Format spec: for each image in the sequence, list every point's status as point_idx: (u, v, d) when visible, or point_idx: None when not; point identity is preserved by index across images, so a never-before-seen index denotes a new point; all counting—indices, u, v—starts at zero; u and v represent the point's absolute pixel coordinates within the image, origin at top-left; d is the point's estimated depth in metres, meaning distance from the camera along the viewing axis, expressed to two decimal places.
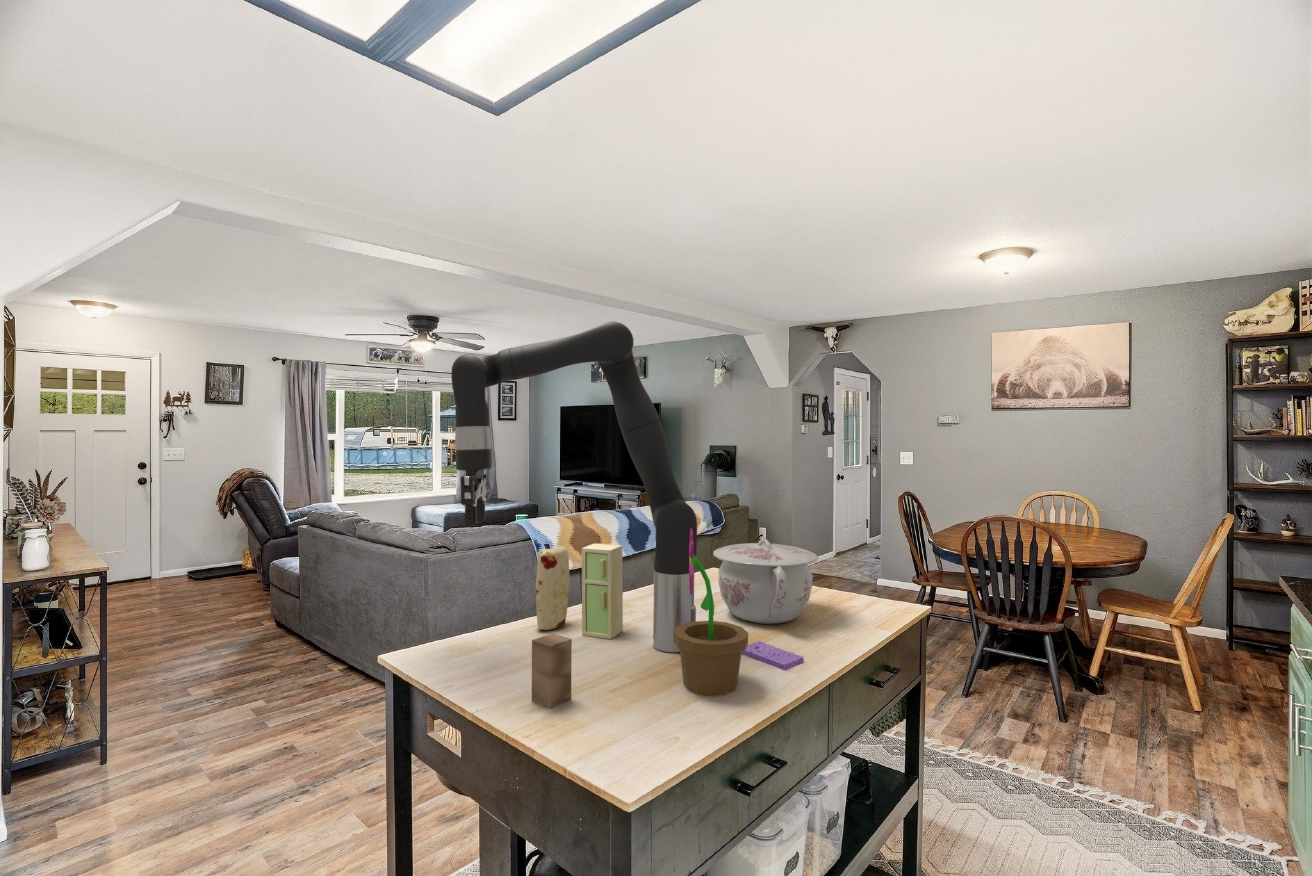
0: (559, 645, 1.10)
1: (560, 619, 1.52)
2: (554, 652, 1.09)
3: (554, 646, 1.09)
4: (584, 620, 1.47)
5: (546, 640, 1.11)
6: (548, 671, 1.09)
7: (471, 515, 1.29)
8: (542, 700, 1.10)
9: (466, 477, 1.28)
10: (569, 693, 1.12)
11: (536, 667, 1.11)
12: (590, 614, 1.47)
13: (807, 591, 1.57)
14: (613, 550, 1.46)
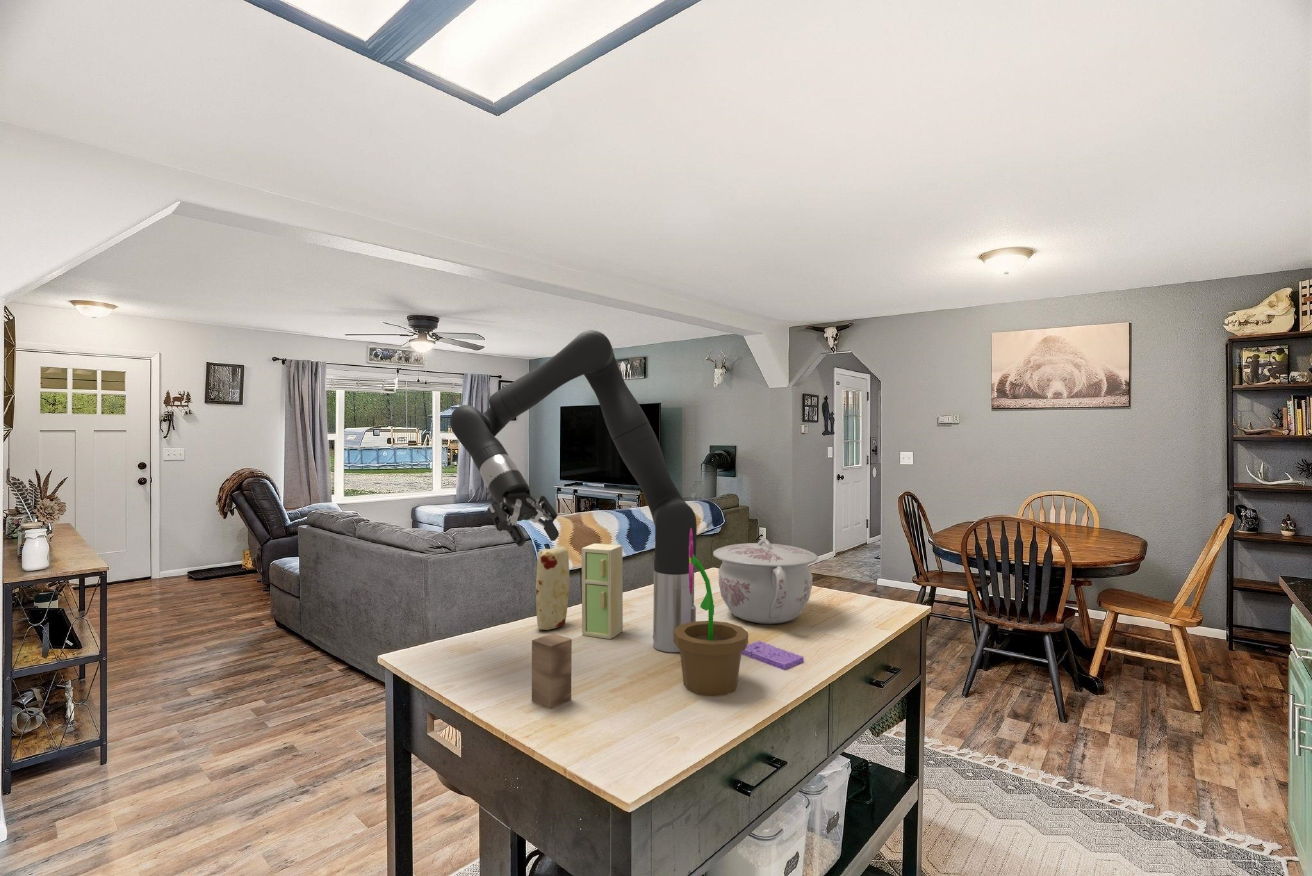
0: (559, 645, 1.10)
1: (560, 619, 1.52)
2: (554, 652, 1.09)
3: (554, 646, 1.09)
4: (584, 620, 1.47)
5: (546, 640, 1.11)
6: (548, 671, 1.09)
7: (514, 534, 1.21)
8: (542, 700, 1.10)
9: (490, 505, 1.23)
10: (569, 693, 1.12)
11: (536, 667, 1.11)
12: (590, 614, 1.47)
13: (807, 591, 1.57)
14: (613, 550, 1.46)
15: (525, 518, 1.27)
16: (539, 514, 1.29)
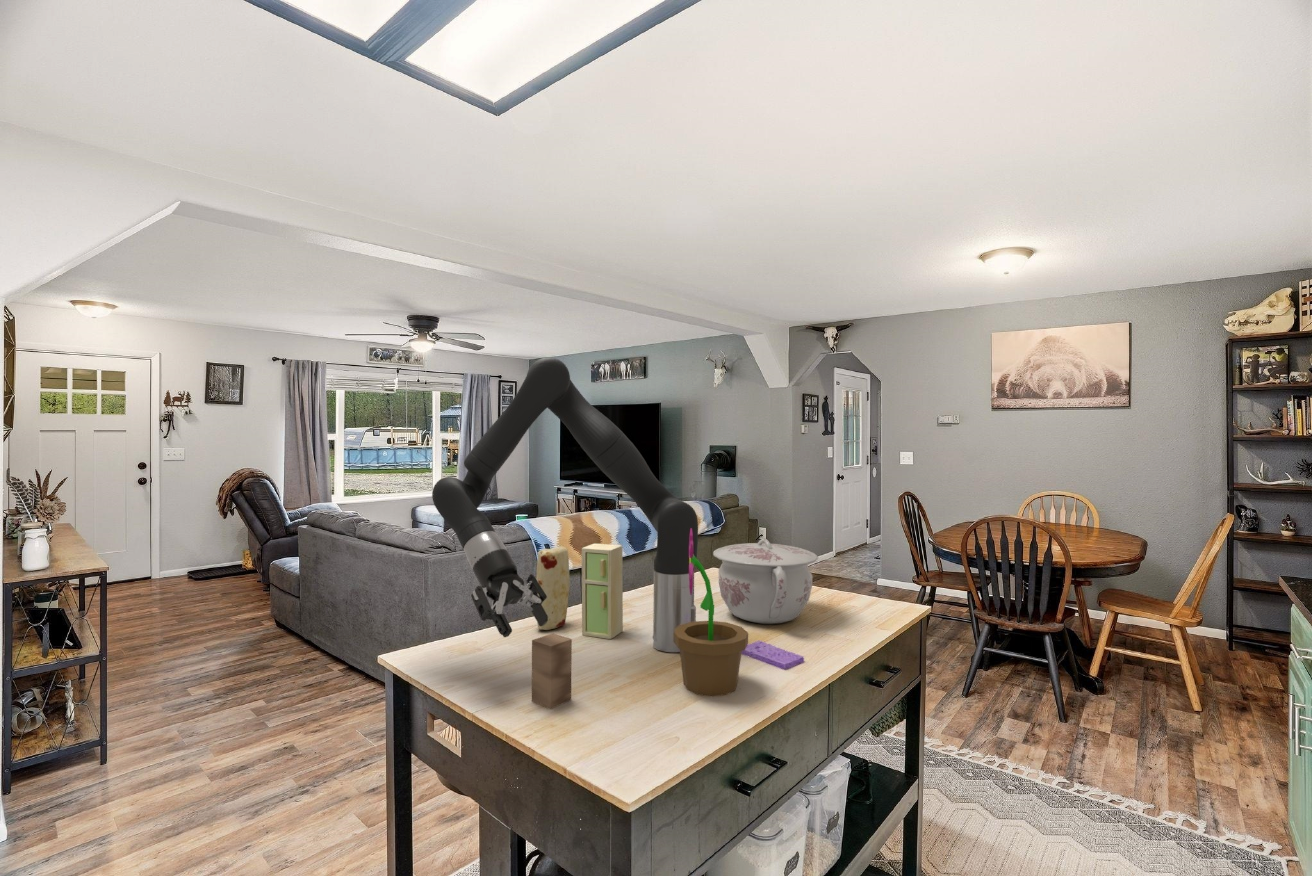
0: (559, 646, 1.10)
1: (560, 619, 1.52)
2: (554, 652, 1.09)
3: (554, 646, 1.09)
4: (584, 620, 1.47)
5: (546, 640, 1.11)
6: (548, 671, 1.09)
7: (499, 624, 1.13)
8: (542, 700, 1.10)
9: (473, 591, 1.15)
10: (569, 693, 1.12)
11: (536, 667, 1.11)
12: (590, 614, 1.47)
13: (807, 591, 1.57)
14: (613, 550, 1.46)
15: (512, 602, 1.19)
16: (527, 597, 1.21)
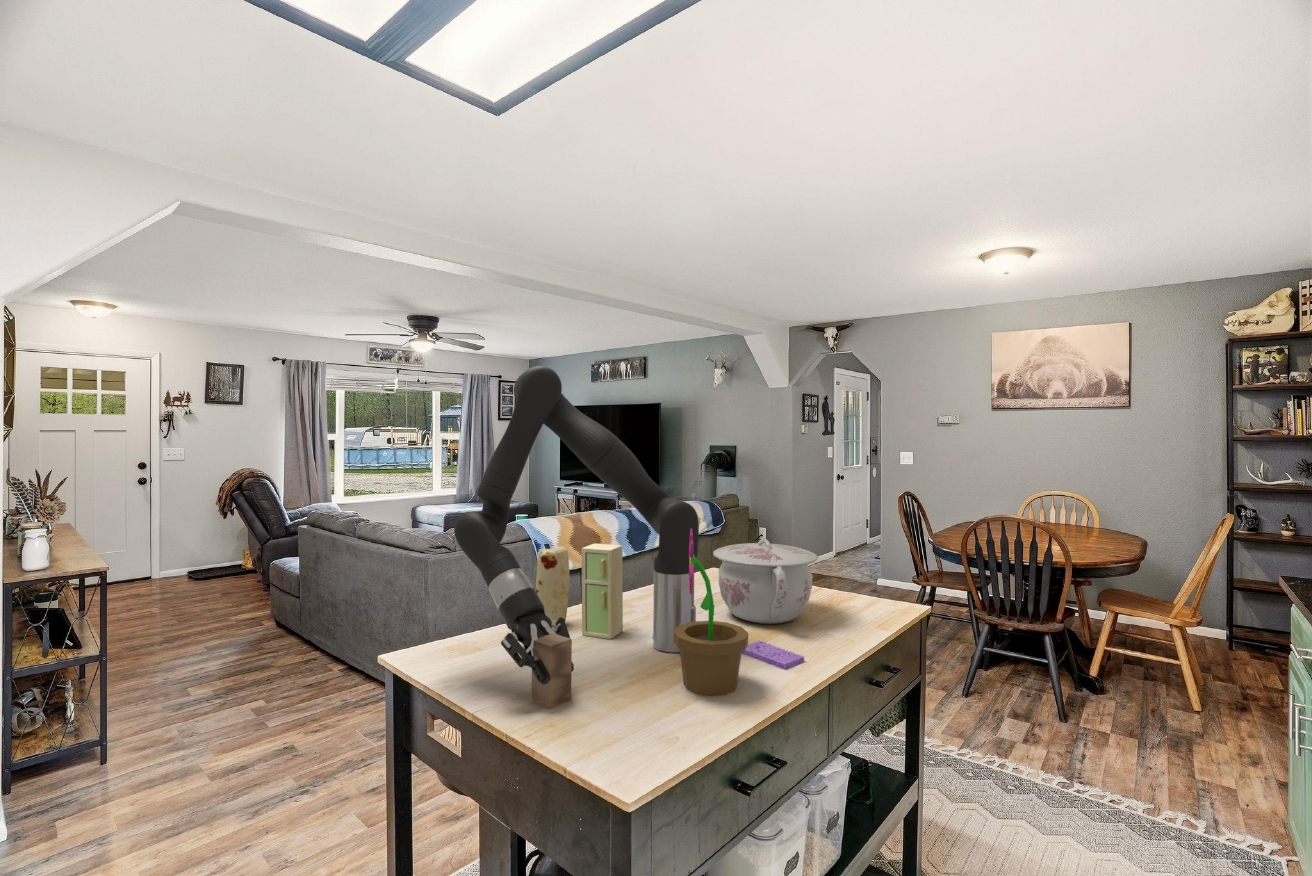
0: (559, 645, 1.10)
1: None
2: (554, 652, 1.09)
3: (554, 646, 1.09)
4: (584, 620, 1.47)
5: (546, 640, 1.11)
6: (548, 671, 1.09)
7: (538, 671, 1.09)
8: (542, 700, 1.10)
9: (504, 640, 1.10)
10: (569, 693, 1.12)
11: None
12: (590, 614, 1.47)
13: (807, 591, 1.57)
14: (613, 550, 1.46)
15: None
16: None
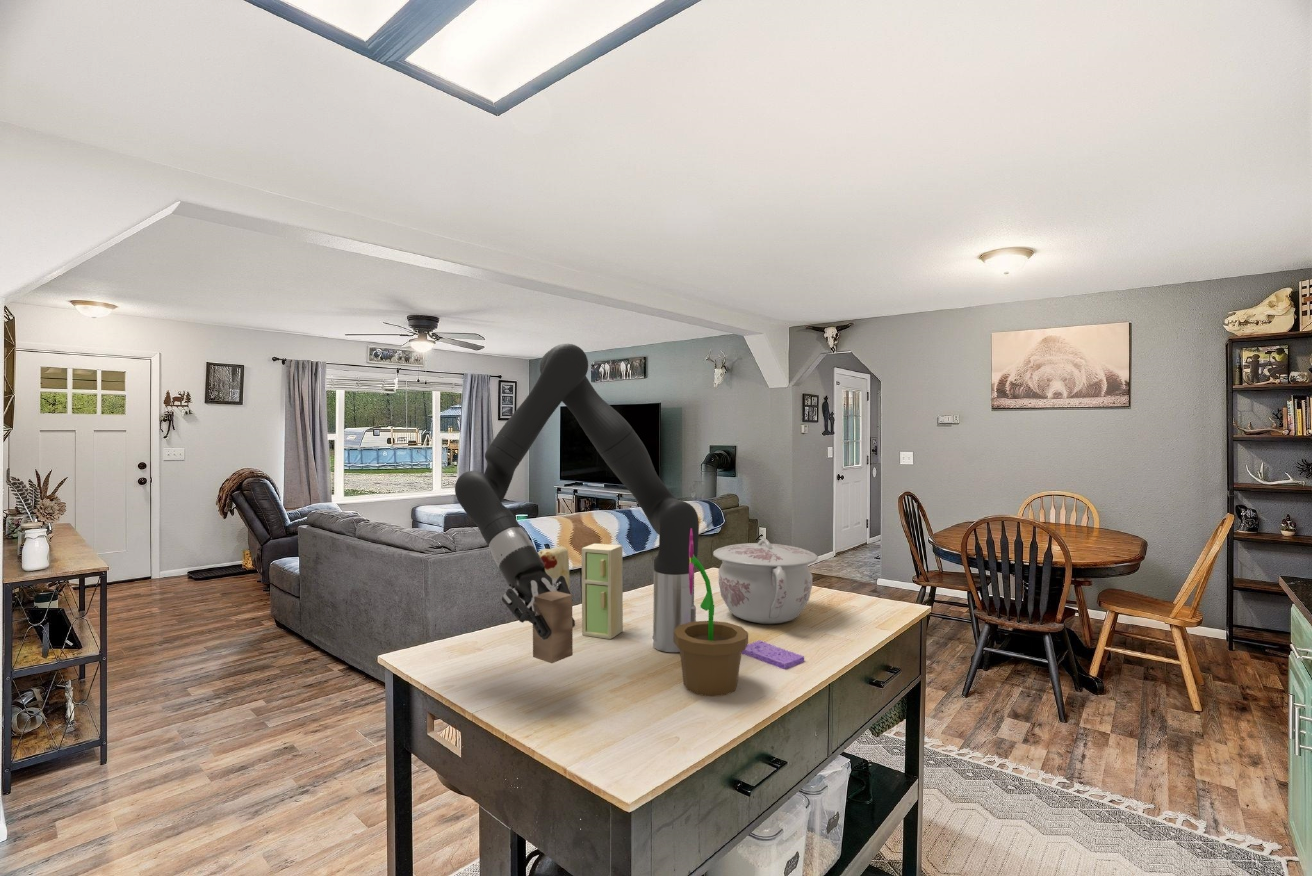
0: (560, 601, 1.10)
1: None
2: (555, 607, 1.09)
3: (555, 601, 1.09)
4: (584, 620, 1.47)
5: (547, 596, 1.11)
6: (549, 625, 1.09)
7: (538, 626, 1.09)
8: (543, 655, 1.10)
9: (504, 595, 1.10)
10: (570, 649, 1.12)
11: None
12: (590, 614, 1.47)
13: (807, 591, 1.57)
14: (613, 550, 1.46)
15: None
16: None
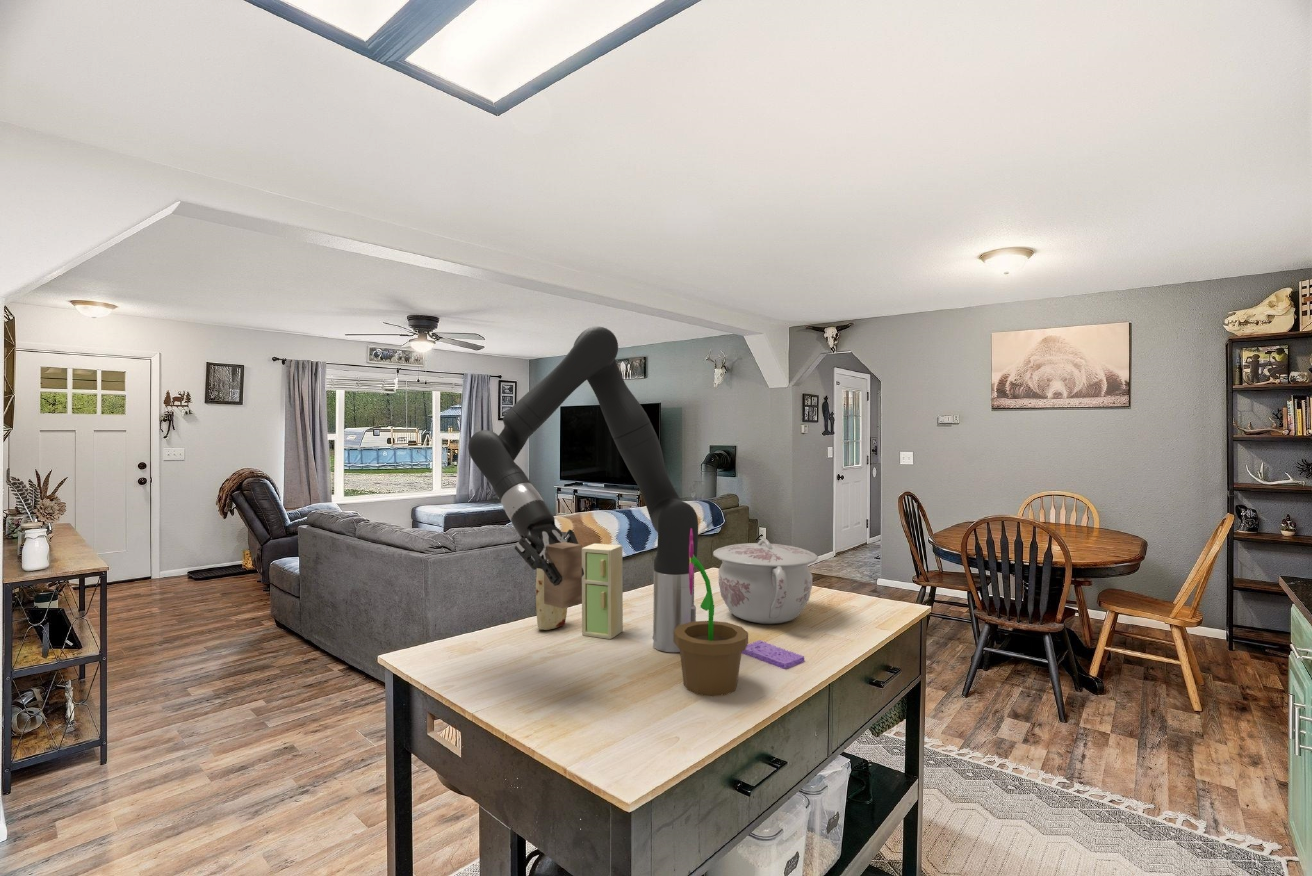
0: (570, 549, 1.16)
1: (560, 619, 1.52)
2: (566, 554, 1.15)
3: (565, 549, 1.15)
4: (584, 620, 1.47)
5: (558, 545, 1.17)
6: (560, 572, 1.14)
7: (550, 573, 1.14)
8: (554, 601, 1.15)
9: (517, 544, 1.15)
10: (580, 596, 1.18)
11: None
12: (590, 614, 1.47)
13: (807, 591, 1.57)
14: (613, 550, 1.46)
15: None
16: None
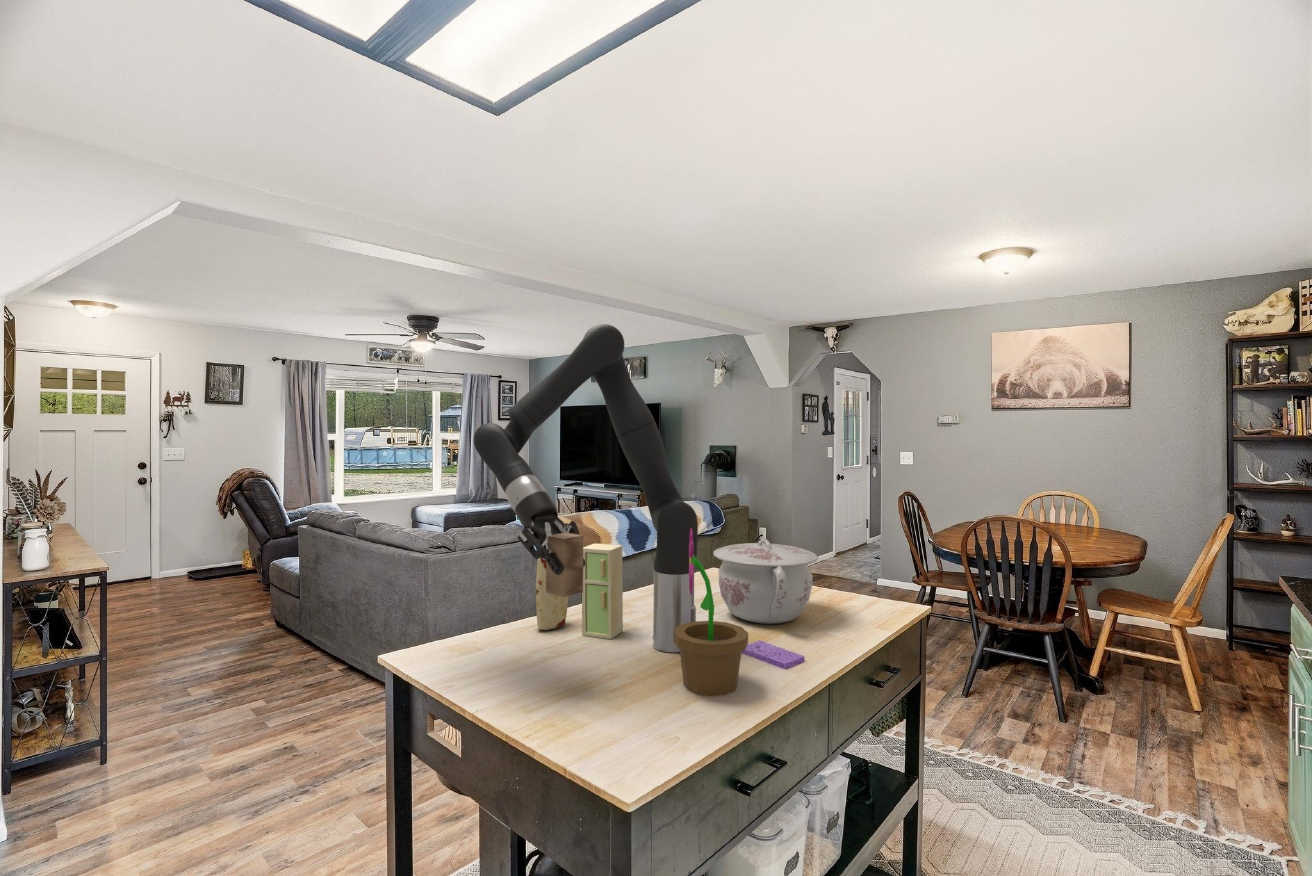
0: (572, 540, 1.18)
1: (560, 619, 1.52)
2: (568, 544, 1.17)
3: (567, 539, 1.17)
4: (584, 620, 1.47)
5: (560, 536, 1.19)
6: (562, 562, 1.17)
7: (552, 562, 1.17)
8: (556, 590, 1.18)
9: (520, 534, 1.18)
10: (581, 586, 1.20)
11: None
12: (590, 614, 1.47)
13: (807, 591, 1.57)
14: (613, 550, 1.46)
15: None
16: None
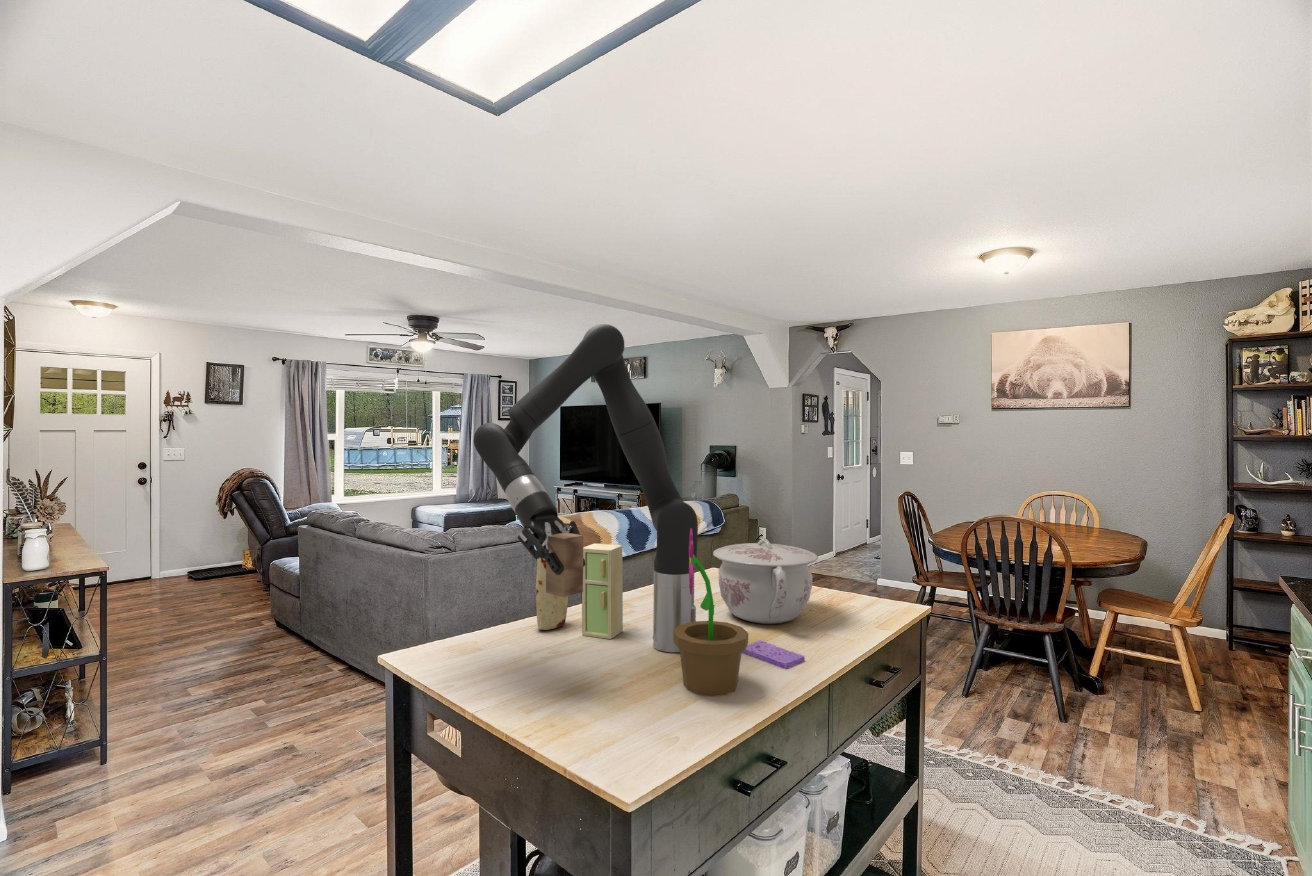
0: (572, 540, 1.18)
1: (560, 619, 1.52)
2: (568, 544, 1.17)
3: (567, 539, 1.17)
4: (584, 620, 1.47)
5: (560, 536, 1.19)
6: (562, 562, 1.17)
7: (552, 562, 1.17)
8: (556, 590, 1.18)
9: (520, 534, 1.18)
10: (581, 586, 1.20)
11: None
12: (590, 614, 1.47)
13: (807, 591, 1.57)
14: (613, 550, 1.46)
15: None
16: None
